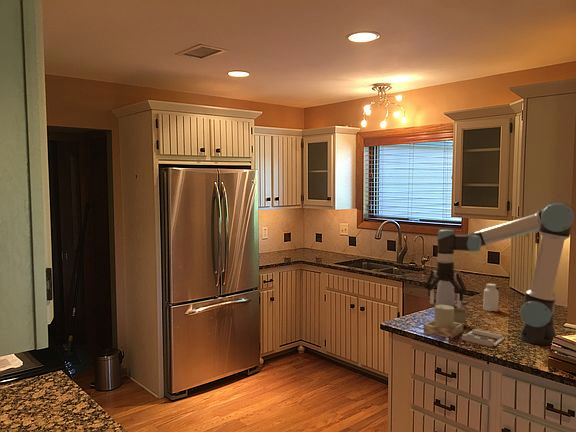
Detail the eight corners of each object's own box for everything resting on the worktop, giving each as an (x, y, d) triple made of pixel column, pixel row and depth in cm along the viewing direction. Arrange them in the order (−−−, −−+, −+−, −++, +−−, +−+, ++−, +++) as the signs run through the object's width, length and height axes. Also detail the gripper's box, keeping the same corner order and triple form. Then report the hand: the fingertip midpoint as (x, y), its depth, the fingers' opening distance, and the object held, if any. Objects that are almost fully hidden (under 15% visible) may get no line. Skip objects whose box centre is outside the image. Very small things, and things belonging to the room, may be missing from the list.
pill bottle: (479, 309, 276) (480, 283, 275) (489, 307, 279) (490, 282, 278) (491, 312, 269) (492, 286, 268) (501, 311, 272) (502, 285, 271)
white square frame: (504, 339, 222) (504, 332, 221) (494, 347, 210) (494, 340, 210) (470, 332, 232) (471, 325, 231) (459, 339, 220) (459, 332, 220)
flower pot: (462, 321, 250) (462, 308, 249) (470, 327, 240) (470, 313, 239) (443, 321, 250) (443, 308, 249) (450, 327, 240) (451, 313, 239)
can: (430, 329, 232) (430, 305, 231) (440, 326, 238) (440, 302, 237) (447, 334, 225) (448, 309, 224) (457, 330, 231) (458, 306, 231)
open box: (463, 331, 233) (463, 323, 232) (451, 338, 222) (452, 330, 222) (435, 325, 242) (435, 318, 241) (423, 332, 231) (423, 324, 231)
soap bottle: (456, 304, 286) (457, 261, 285) (454, 308, 276) (455, 264, 274) (436, 302, 291) (437, 259, 289) (433, 306, 281) (435, 262, 279)
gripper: (474, 263, 224) (474, 307, 225) (424, 258, 241) (424, 300, 242) (468, 265, 219) (468, 310, 220) (417, 260, 235) (417, 303, 236)
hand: (445, 305), depth 231 cm, fingers open, 13 cm apart
